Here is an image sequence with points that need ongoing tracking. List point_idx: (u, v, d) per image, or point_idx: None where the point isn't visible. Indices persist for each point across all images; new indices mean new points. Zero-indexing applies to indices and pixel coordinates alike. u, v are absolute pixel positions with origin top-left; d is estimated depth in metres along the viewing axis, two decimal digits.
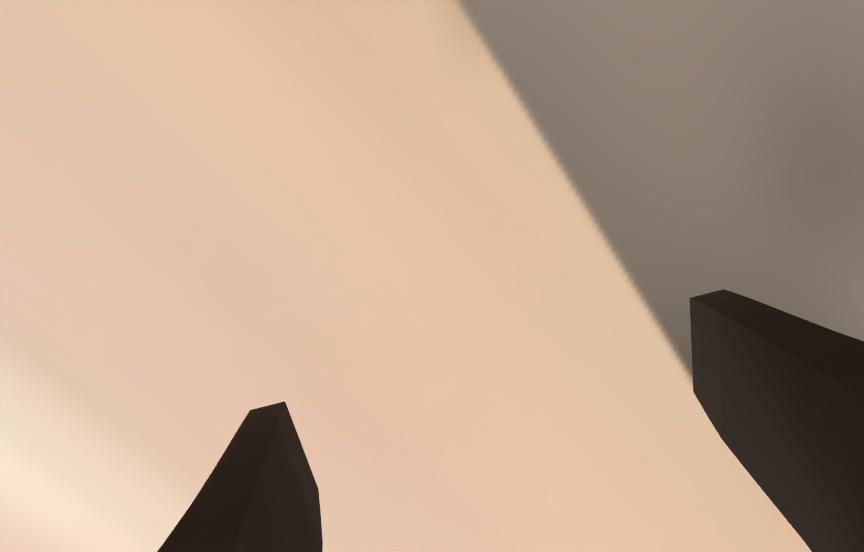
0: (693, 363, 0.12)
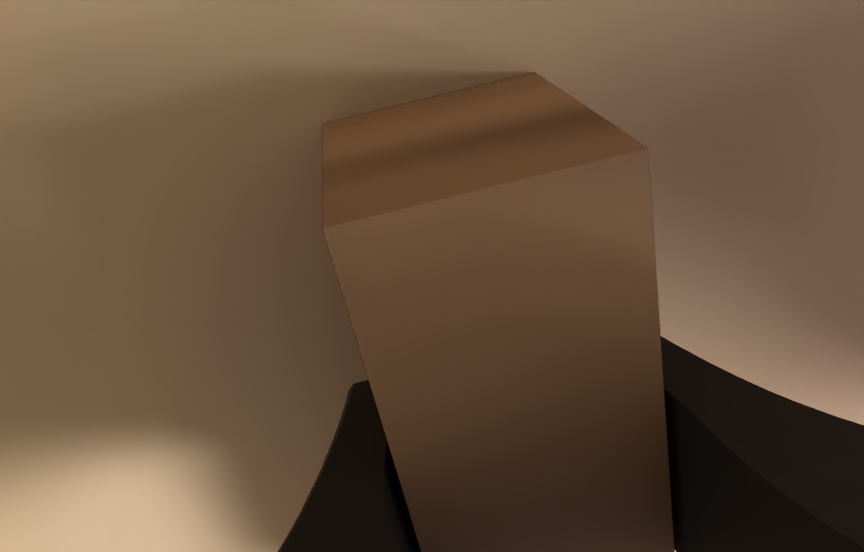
0: None
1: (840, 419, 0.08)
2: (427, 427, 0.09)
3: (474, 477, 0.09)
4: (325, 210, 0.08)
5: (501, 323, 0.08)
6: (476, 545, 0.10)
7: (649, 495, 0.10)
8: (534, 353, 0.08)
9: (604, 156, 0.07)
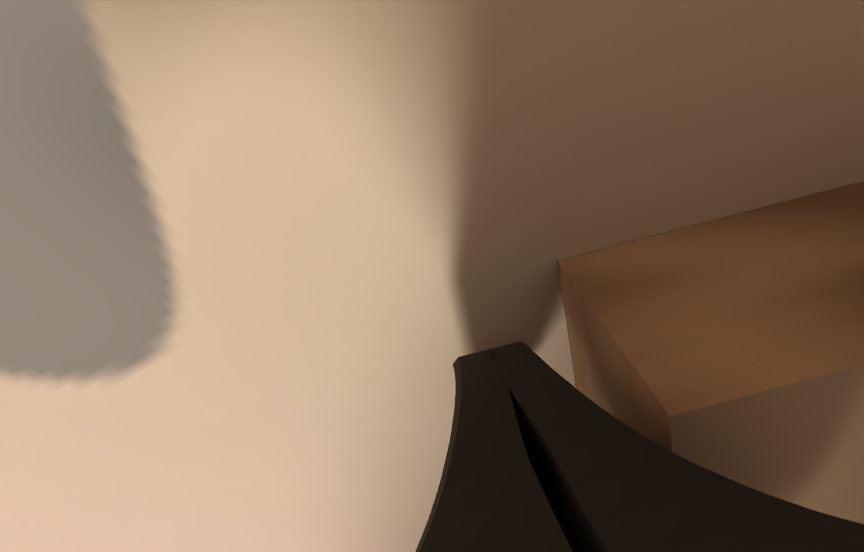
0: None
1: (684, 460, 0.08)
2: None
3: None
4: None
5: None
6: None
7: None
8: None
9: None
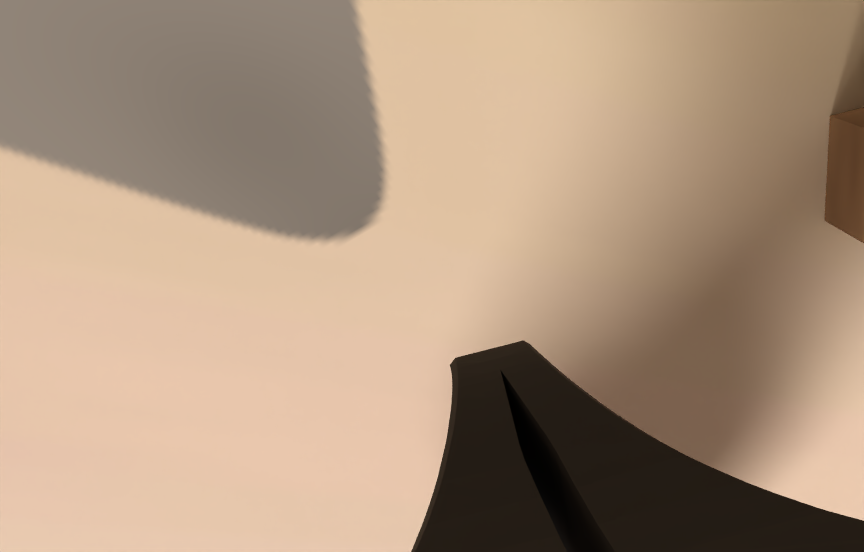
0: None
1: (689, 459, 0.08)
2: None
3: None
4: None
5: None
6: None
7: None
8: None
9: None
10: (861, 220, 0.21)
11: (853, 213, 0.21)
